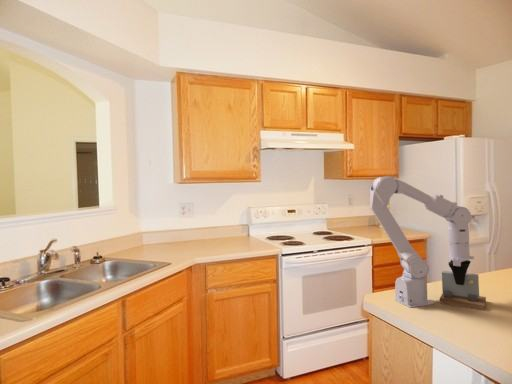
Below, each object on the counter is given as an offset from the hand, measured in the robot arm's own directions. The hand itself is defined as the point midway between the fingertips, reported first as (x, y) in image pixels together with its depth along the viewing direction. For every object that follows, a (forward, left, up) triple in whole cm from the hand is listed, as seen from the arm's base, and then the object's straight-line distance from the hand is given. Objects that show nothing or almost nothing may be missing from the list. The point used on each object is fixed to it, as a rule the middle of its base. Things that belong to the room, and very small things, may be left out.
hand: (460, 283), depth 104 cm
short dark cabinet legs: (0, 0, -5) cm, 5 cm away
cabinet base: (0, 0, -6) cm, 6 cm away
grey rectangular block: (0, 0, -4) cm, 4 cm away
